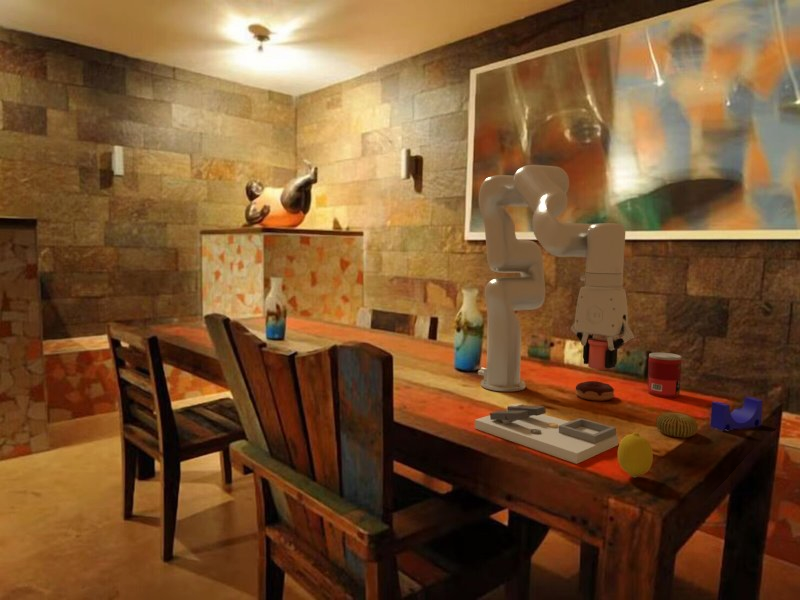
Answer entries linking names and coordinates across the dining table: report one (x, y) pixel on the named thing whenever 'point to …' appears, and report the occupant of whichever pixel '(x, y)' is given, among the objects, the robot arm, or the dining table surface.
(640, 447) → the lemon
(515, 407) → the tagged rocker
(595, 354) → the cap
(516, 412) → the plain rocker
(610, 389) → the donut
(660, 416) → the sculpture
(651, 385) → the canned food
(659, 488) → the dining table surface
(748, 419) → the blue pipe cradle
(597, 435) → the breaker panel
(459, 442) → the dining table surface
